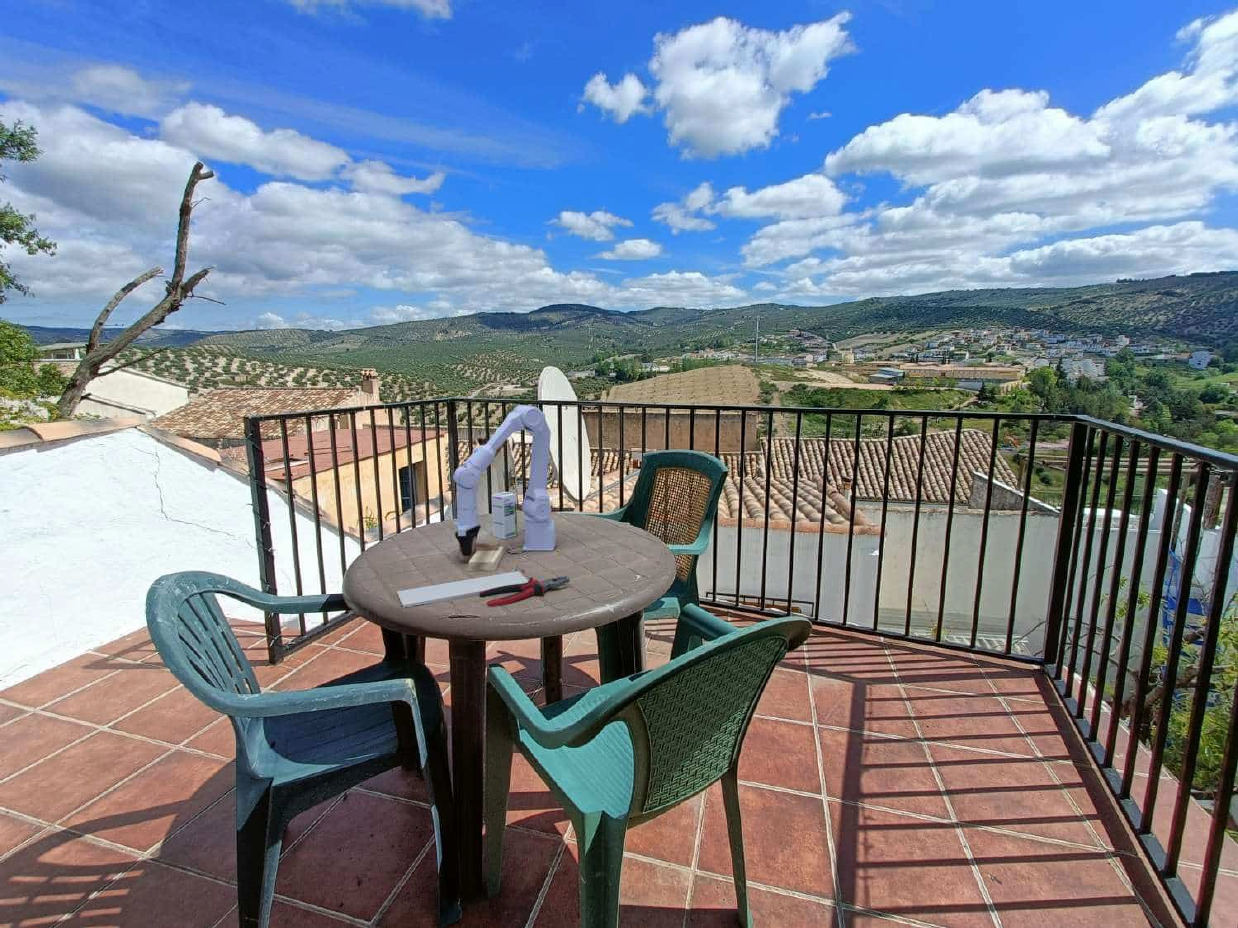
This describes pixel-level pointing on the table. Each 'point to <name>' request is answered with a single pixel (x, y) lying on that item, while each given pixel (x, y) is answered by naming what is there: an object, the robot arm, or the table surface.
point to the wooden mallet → (477, 546)
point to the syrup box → (504, 515)
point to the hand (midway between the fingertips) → (468, 553)
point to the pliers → (529, 589)
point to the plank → (486, 559)
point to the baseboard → (458, 589)
